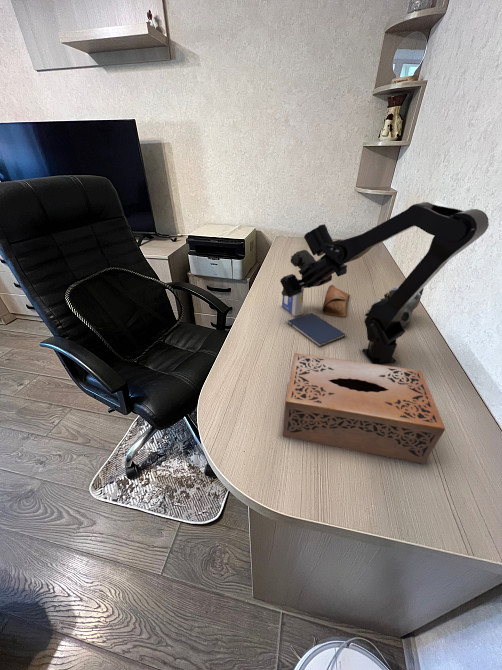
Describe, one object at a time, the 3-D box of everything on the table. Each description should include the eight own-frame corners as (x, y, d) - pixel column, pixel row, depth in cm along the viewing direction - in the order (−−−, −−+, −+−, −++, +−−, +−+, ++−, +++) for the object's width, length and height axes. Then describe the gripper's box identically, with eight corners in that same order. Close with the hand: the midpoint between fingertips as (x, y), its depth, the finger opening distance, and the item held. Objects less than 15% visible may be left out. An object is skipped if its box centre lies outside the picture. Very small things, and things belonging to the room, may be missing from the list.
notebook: (344, 337, 84) (345, 333, 83) (319, 347, 80) (319, 343, 79) (311, 315, 95) (312, 312, 94) (287, 323, 90) (288, 320, 90)
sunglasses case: (347, 316, 93) (340, 299, 90) (327, 322, 96) (320, 306, 94) (349, 294, 107) (343, 278, 105) (332, 300, 111) (325, 285, 108)
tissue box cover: (406, 404, 62) (421, 370, 56) (423, 464, 50) (445, 429, 45) (291, 385, 67) (294, 353, 61) (282, 435, 55) (285, 401, 50)
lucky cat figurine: (361, 308, 98) (383, 272, 94) (391, 322, 99) (414, 287, 95) (378, 319, 84) (405, 276, 80) (412, 335, 85) (440, 294, 81)
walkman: (281, 306, 100) (283, 275, 93) (288, 305, 101) (290, 273, 94) (294, 316, 94) (298, 283, 87) (301, 314, 95) (305, 281, 88)
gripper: (330, 238, 85) (300, 263, 99) (287, 250, 76) (260, 276, 89) (347, 270, 85) (314, 291, 98) (305, 286, 75) (275, 306, 89)
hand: (292, 290), depth 94 cm, fingers open, 9 cm apart
